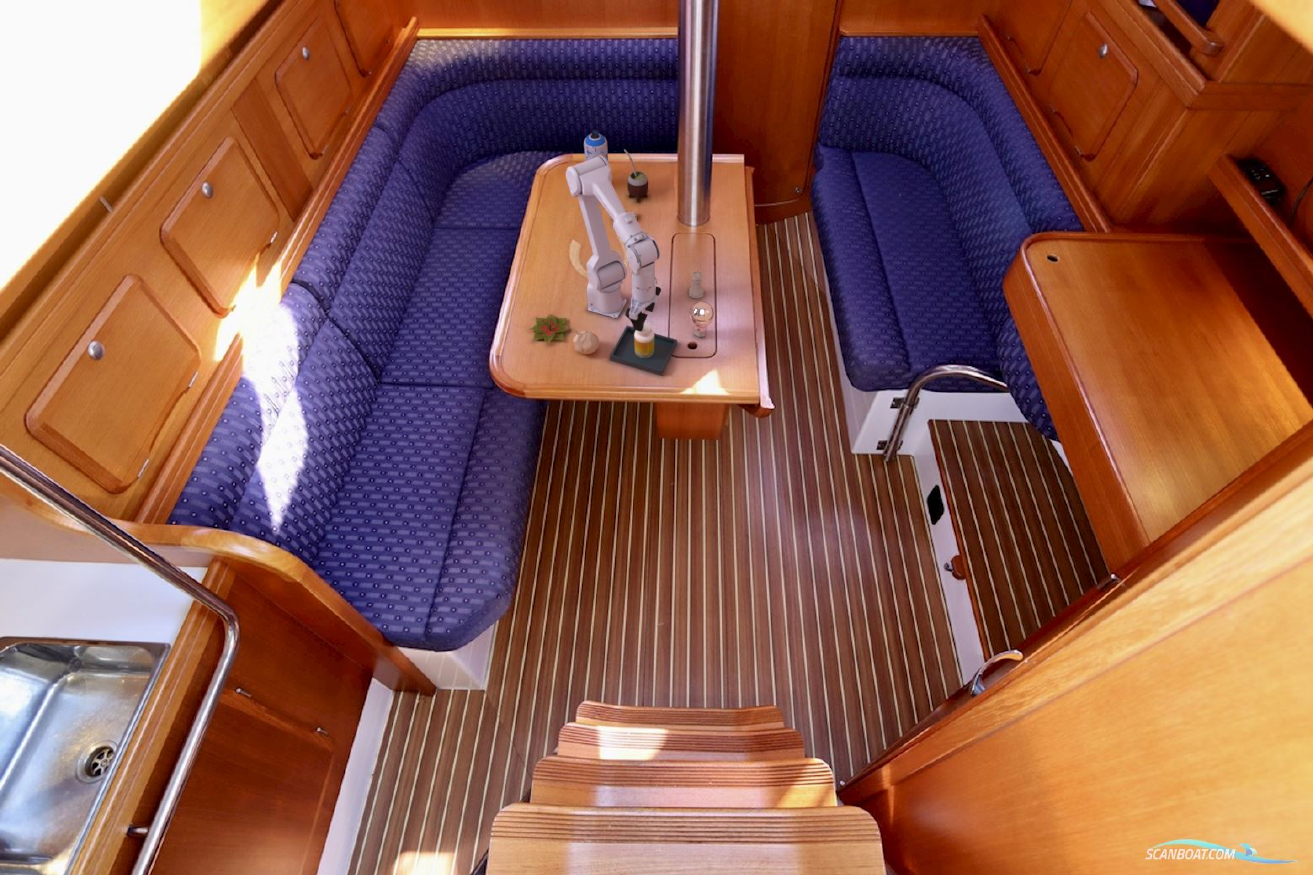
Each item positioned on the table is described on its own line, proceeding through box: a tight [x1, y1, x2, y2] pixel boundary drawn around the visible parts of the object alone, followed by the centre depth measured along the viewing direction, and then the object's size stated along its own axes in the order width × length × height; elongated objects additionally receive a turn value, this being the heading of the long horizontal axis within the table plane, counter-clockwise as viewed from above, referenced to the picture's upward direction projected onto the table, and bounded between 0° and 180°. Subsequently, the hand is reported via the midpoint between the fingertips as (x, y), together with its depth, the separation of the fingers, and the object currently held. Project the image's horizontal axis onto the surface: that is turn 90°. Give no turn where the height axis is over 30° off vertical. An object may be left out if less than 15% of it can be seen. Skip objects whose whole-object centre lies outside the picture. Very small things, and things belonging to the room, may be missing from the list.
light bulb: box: [688, 300, 715, 338], centre depth 179 cm, size 7×7×12 cm
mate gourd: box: [623, 148, 649, 203], centre depth 213 cm, size 8×8×15 cm
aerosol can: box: [583, 129, 609, 162], centre depth 213 cm, size 8×8×20 cm
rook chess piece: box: [688, 270, 704, 299], centre depth 190 cm, size 4×4×8 cm
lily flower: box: [530, 314, 571, 345], centre depth 183 cm, size 12×12×5 cm
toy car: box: [612, 210, 638, 222], centre depth 211 cm, size 4×8×3 cm, turn 103°
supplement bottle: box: [634, 321, 655, 358], centre depth 176 cm, size 5×5×10 cm
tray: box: [609, 325, 678, 377], centre depth 179 cm, size 15×12×2 cm
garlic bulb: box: [572, 330, 600, 355], centre depth 177 cm, size 7×6×8 cm
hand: (643, 320), depth 173 cm, fingers open, 7 cm apart
